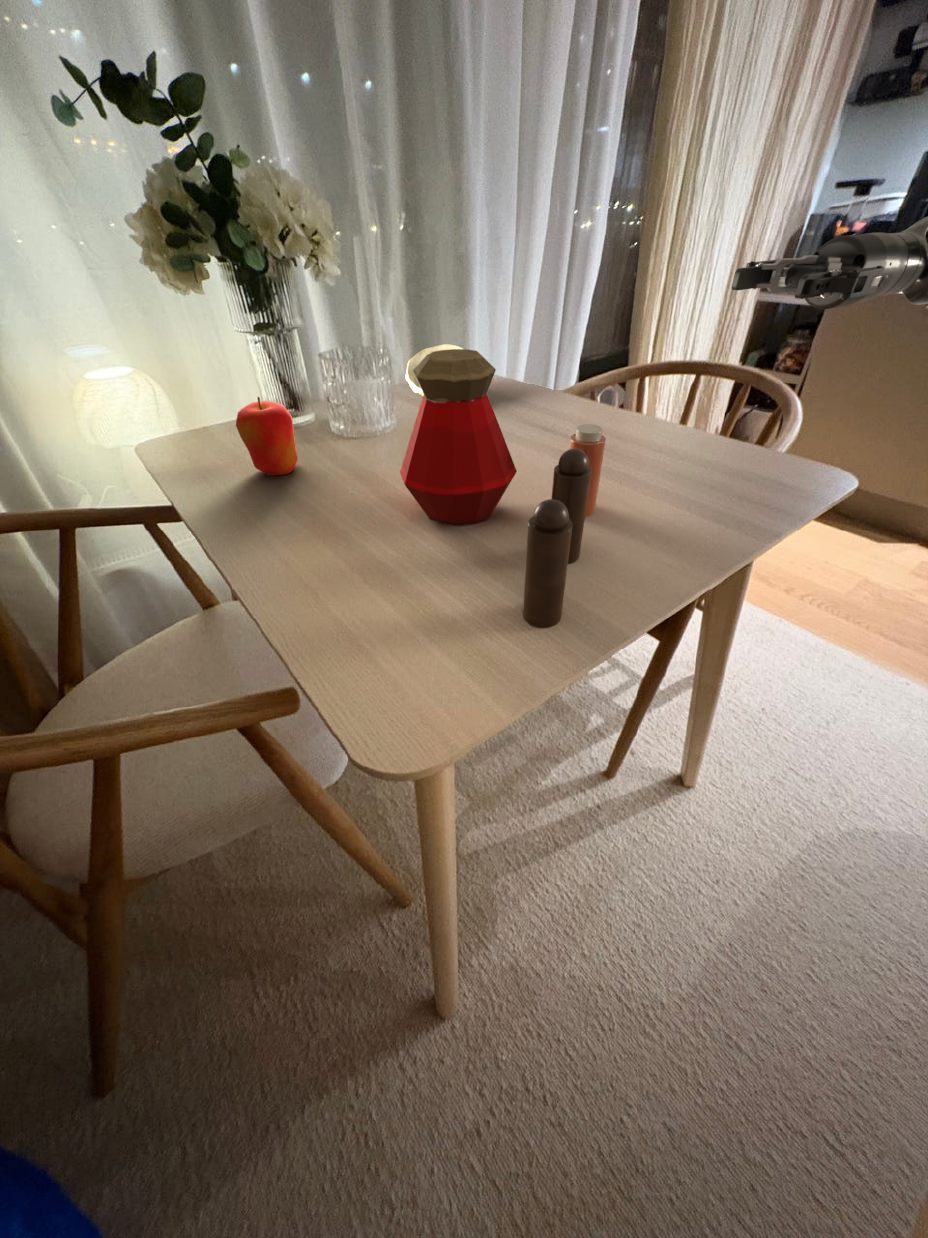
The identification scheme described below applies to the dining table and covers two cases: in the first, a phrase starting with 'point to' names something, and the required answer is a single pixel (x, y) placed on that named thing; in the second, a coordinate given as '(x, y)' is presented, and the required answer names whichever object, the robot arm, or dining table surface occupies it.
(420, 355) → the bowl
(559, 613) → the post
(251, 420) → the apple
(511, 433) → the dining table surface
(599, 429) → the shaker
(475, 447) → the bottle
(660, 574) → the dining table surface
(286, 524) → the dining table surface
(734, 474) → the dining table surface
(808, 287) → the robot arm
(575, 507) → the post
